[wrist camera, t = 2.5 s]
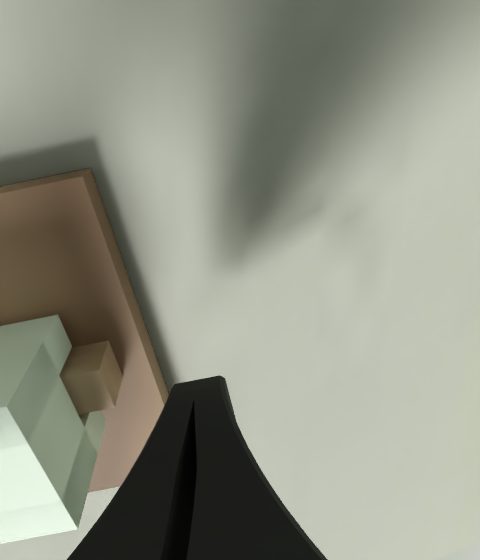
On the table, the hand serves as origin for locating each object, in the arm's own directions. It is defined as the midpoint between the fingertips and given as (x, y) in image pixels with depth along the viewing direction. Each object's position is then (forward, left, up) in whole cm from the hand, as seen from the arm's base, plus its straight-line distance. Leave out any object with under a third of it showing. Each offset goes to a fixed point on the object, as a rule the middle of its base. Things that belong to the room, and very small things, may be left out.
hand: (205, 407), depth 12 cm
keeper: (-6, 0, -3) cm, 7 cm away
